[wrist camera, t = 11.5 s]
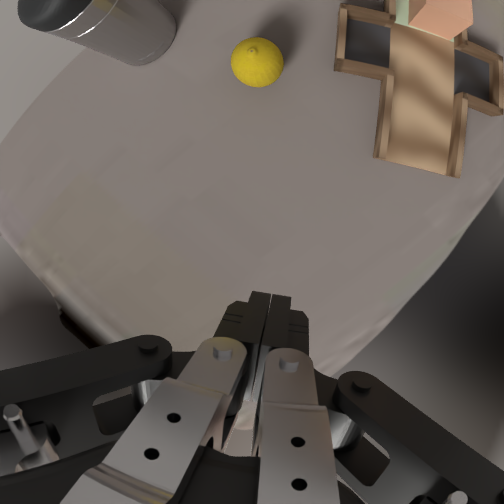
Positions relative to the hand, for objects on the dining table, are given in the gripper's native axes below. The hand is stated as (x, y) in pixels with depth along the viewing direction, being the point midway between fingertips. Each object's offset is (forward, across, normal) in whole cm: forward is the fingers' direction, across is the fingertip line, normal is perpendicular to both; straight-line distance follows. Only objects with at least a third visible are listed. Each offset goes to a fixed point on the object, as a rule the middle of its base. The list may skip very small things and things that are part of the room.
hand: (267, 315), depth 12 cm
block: (+27, -15, -30) cm, 43 cm away
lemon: (+27, +5, -16) cm, 32 cm away
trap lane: (+27, -14, -21) cm, 37 cm away
